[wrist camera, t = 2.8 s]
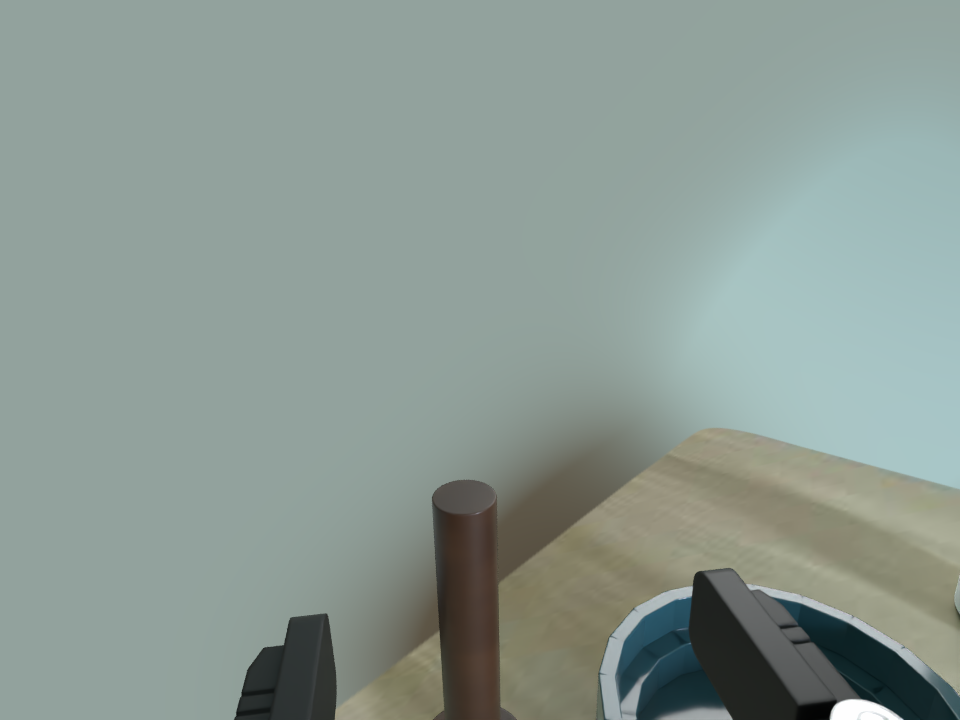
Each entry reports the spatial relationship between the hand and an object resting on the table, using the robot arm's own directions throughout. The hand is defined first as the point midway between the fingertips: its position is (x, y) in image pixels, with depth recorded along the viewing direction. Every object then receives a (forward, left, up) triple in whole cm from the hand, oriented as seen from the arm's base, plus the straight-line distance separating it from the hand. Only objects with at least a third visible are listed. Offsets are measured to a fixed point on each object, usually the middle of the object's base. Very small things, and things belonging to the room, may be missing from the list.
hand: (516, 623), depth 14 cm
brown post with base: (-6, +10, -19) cm, 22 cm away
